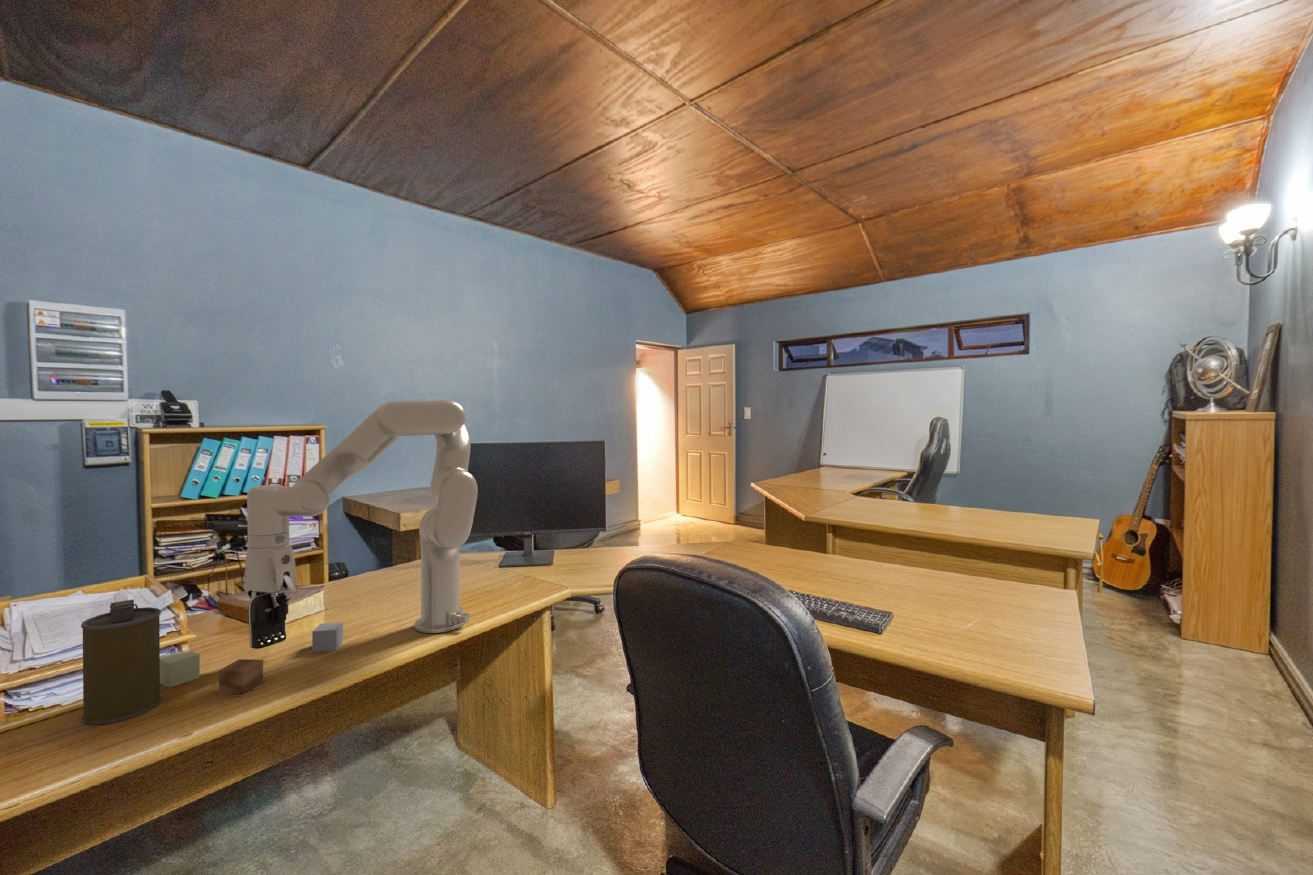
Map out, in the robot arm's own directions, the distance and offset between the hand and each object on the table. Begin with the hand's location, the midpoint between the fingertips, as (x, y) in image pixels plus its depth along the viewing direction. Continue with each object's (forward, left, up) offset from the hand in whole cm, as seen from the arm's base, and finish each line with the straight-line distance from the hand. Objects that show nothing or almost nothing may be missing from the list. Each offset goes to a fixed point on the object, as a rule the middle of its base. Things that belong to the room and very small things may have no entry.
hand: (269, 620), depth 119 cm
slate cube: (-6, -10, -9) cm, 15 cm away
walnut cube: (-7, +11, -9) cm, 16 cm away
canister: (+6, +23, -9) cm, 26 cm away
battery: (0, 0, -6) cm, 6 cm away
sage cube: (+9, +12, -9) cm, 18 cm away
